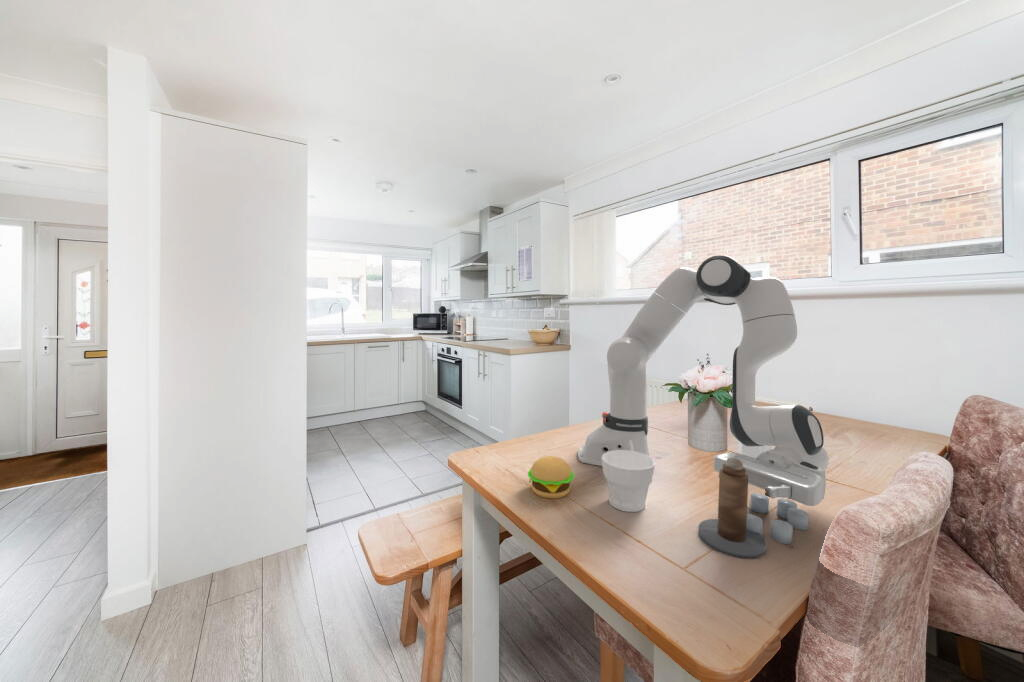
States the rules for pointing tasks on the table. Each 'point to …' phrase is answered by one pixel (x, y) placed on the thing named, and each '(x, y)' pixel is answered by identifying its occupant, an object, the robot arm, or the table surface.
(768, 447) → the jar
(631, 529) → the table surface
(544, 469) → the hamburger
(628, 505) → the cup
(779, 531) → the tealight cups
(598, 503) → the table surface
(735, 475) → the pepper mill
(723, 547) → the disc
